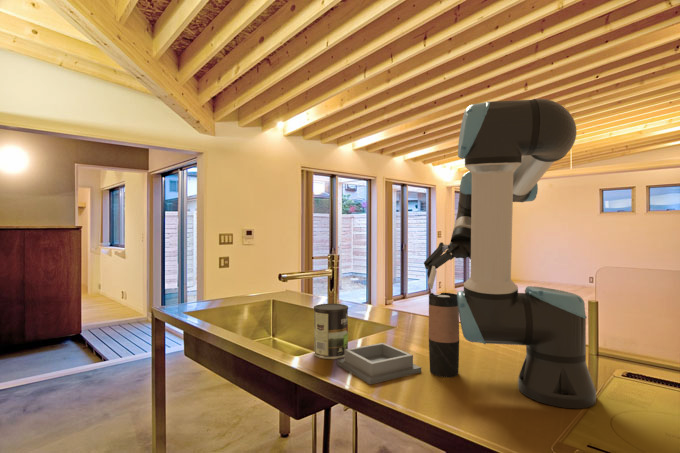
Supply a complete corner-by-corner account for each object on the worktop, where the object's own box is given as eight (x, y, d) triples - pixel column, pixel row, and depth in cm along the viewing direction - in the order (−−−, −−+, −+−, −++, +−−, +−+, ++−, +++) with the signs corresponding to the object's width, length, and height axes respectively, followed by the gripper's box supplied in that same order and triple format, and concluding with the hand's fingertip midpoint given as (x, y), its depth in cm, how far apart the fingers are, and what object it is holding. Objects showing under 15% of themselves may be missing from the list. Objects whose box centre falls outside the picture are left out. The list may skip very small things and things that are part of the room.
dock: (421, 372, 98) (421, 355, 98) (370, 384, 90) (370, 366, 90) (384, 354, 112) (384, 340, 112) (337, 364, 104) (337, 349, 104)
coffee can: (350, 349, 118) (350, 303, 118) (344, 360, 107) (344, 310, 108) (318, 347, 120) (318, 302, 120) (309, 358, 109) (309, 309, 110)
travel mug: (454, 380, 93) (453, 298, 93) (424, 374, 97) (424, 295, 97) (463, 370, 99) (462, 293, 100) (434, 365, 103) (434, 291, 104)
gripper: (508, 242, 117) (502, 299, 104) (428, 241, 130) (414, 292, 117) (506, 225, 113) (499, 282, 99) (423, 226, 125) (408, 276, 112)
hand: (453, 287), depth 108 cm, fingers open, 13 cm apart
